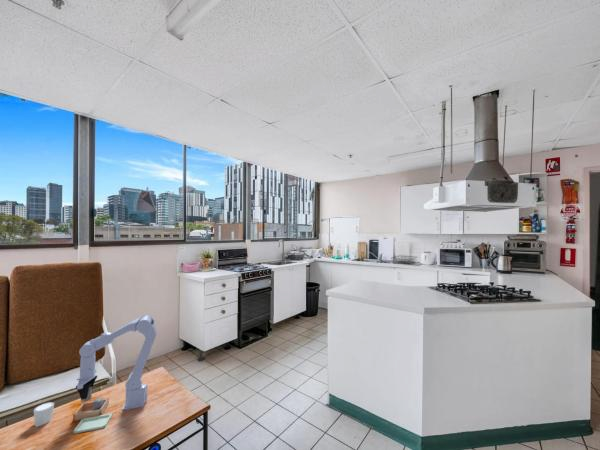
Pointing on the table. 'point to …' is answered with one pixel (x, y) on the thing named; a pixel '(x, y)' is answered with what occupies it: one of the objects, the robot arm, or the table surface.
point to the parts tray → (92, 423)
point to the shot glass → (43, 413)
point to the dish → (89, 410)
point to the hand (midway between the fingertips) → (86, 395)
